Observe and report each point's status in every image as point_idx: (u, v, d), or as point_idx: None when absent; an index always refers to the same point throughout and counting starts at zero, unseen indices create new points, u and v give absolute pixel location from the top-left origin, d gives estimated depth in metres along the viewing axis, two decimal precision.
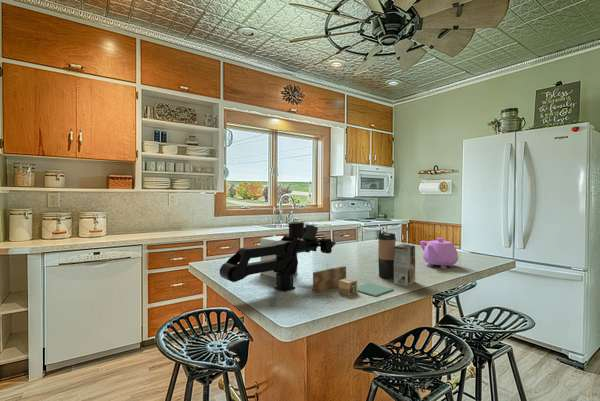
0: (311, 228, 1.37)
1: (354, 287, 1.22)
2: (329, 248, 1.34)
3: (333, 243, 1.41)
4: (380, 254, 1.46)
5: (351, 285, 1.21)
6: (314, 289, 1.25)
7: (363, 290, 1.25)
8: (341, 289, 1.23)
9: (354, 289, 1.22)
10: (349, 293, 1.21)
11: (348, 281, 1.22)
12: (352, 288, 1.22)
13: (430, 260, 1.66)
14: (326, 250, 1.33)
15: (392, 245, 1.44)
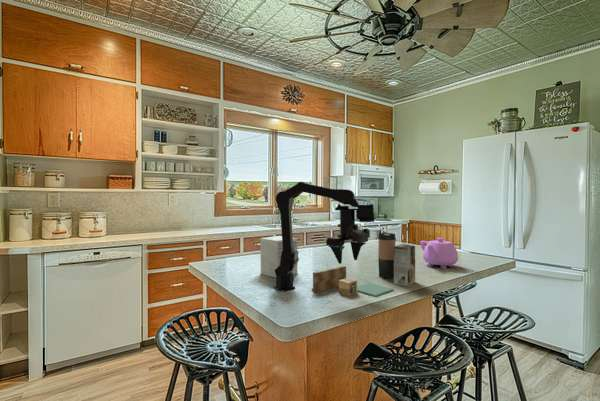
0: (359, 233, 1.17)
1: (354, 287, 1.22)
2: (329, 242, 1.18)
3: (338, 258, 1.20)
4: (380, 254, 1.46)
5: (351, 285, 1.21)
6: (314, 289, 1.25)
7: (363, 290, 1.25)
8: (341, 289, 1.23)
9: (354, 289, 1.22)
10: (349, 293, 1.21)
11: (348, 281, 1.22)
12: (352, 288, 1.22)
13: (430, 260, 1.66)
14: (328, 238, 1.19)
15: (392, 245, 1.44)
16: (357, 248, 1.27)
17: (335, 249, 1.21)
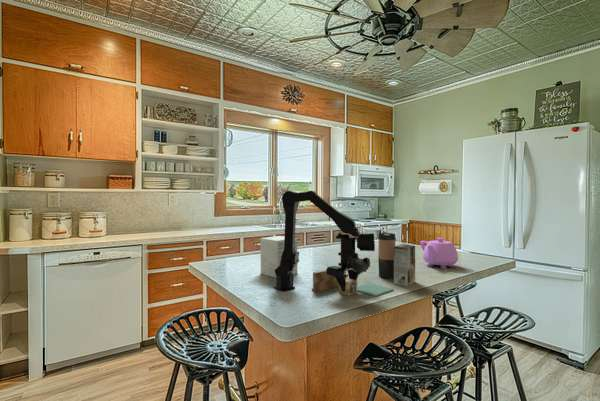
0: (359, 264, 1.17)
1: (354, 287, 1.22)
2: (329, 271, 1.18)
3: (342, 286, 1.22)
4: (380, 254, 1.46)
5: (351, 284, 1.21)
6: (314, 289, 1.25)
7: (363, 290, 1.25)
8: None
9: (354, 289, 1.22)
10: (349, 293, 1.21)
11: (348, 281, 1.22)
12: (352, 288, 1.22)
13: (430, 260, 1.66)
14: (328, 267, 1.19)
15: (392, 245, 1.44)
16: (354, 276, 1.25)
17: (339, 277, 1.22)
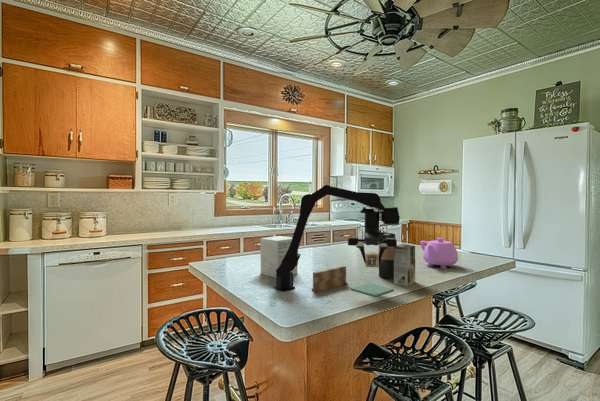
0: (367, 236, 1.20)
1: (373, 260, 1.24)
2: None
3: (363, 258, 1.28)
4: None
5: (369, 257, 1.25)
6: (314, 289, 1.25)
7: (363, 290, 1.25)
8: None
9: (373, 262, 1.24)
10: (366, 264, 1.25)
11: (369, 253, 1.26)
12: (370, 260, 1.25)
13: (430, 260, 1.66)
14: (349, 237, 1.31)
15: None
16: (379, 251, 1.26)
17: None
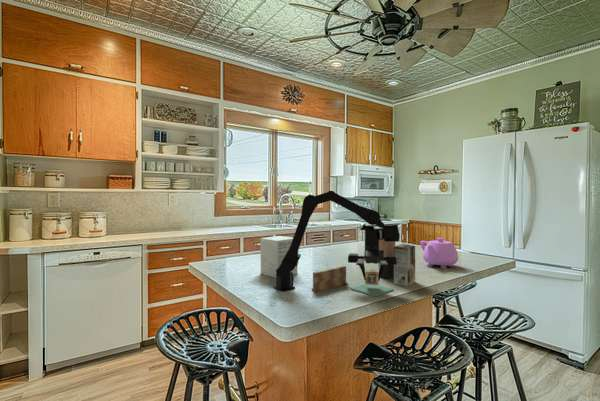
0: (367, 254, 1.21)
1: (373, 277, 1.24)
2: None
3: (363, 275, 1.28)
4: None
5: (369, 274, 1.25)
6: (314, 289, 1.25)
7: (363, 290, 1.25)
8: None
9: (373, 279, 1.24)
10: (366, 282, 1.25)
11: (369, 270, 1.26)
12: (370, 278, 1.25)
13: (430, 260, 1.66)
14: (349, 254, 1.31)
15: (392, 245, 1.44)
16: (379, 268, 1.26)
17: None
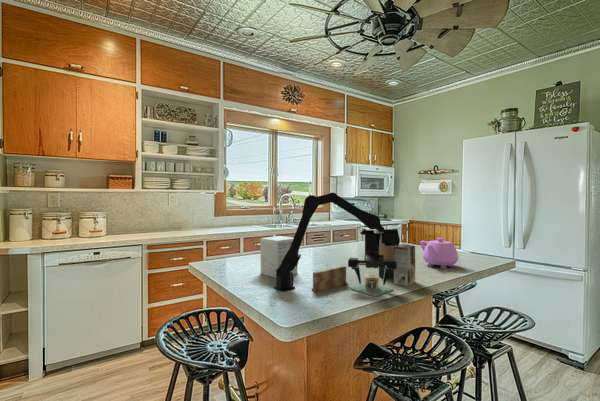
0: (367, 258, 1.21)
1: (373, 283, 1.25)
2: None
3: (358, 279, 1.28)
4: (380, 254, 1.46)
5: (369, 280, 1.25)
6: (314, 289, 1.25)
7: (363, 290, 1.25)
8: None
9: (373, 285, 1.25)
10: (366, 287, 1.25)
11: (369, 276, 1.26)
12: (370, 284, 1.25)
13: (430, 260, 1.66)
14: (349, 258, 1.31)
15: None
16: (384, 273, 1.26)
17: None
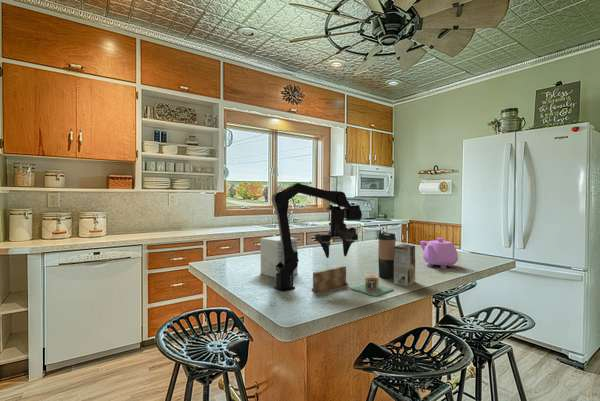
0: (343, 231, 1.29)
1: (373, 283, 1.25)
2: (317, 237, 1.32)
3: (326, 253, 1.34)
4: (380, 254, 1.46)
5: (369, 280, 1.25)
6: (314, 289, 1.25)
7: (363, 290, 1.25)
8: None
9: (373, 285, 1.25)
10: (366, 287, 1.25)
11: (369, 276, 1.26)
12: (370, 284, 1.25)
13: (430, 260, 1.66)
14: (317, 234, 1.33)
15: (392, 245, 1.44)
16: (346, 245, 1.38)
17: (323, 244, 1.34)
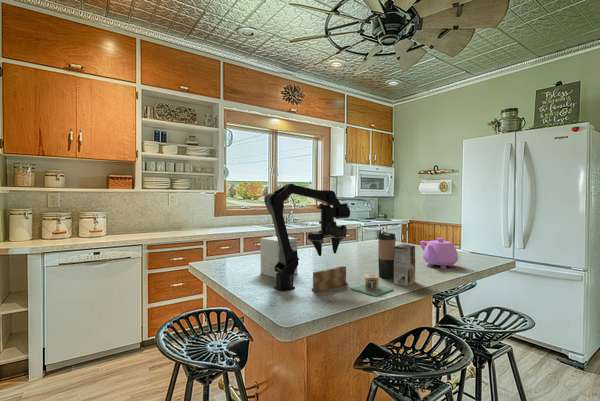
0: (336, 229, 1.32)
1: (373, 283, 1.25)
2: (310, 236, 1.34)
3: (318, 251, 1.36)
4: (380, 254, 1.46)
5: (369, 280, 1.25)
6: (314, 289, 1.25)
7: (363, 290, 1.25)
8: None
9: (373, 285, 1.25)
10: (366, 287, 1.25)
11: (369, 276, 1.26)
12: (370, 284, 1.25)
13: (430, 260, 1.66)
14: (310, 233, 1.34)
15: (392, 245, 1.44)
16: (336, 242, 1.42)
17: (316, 243, 1.36)
